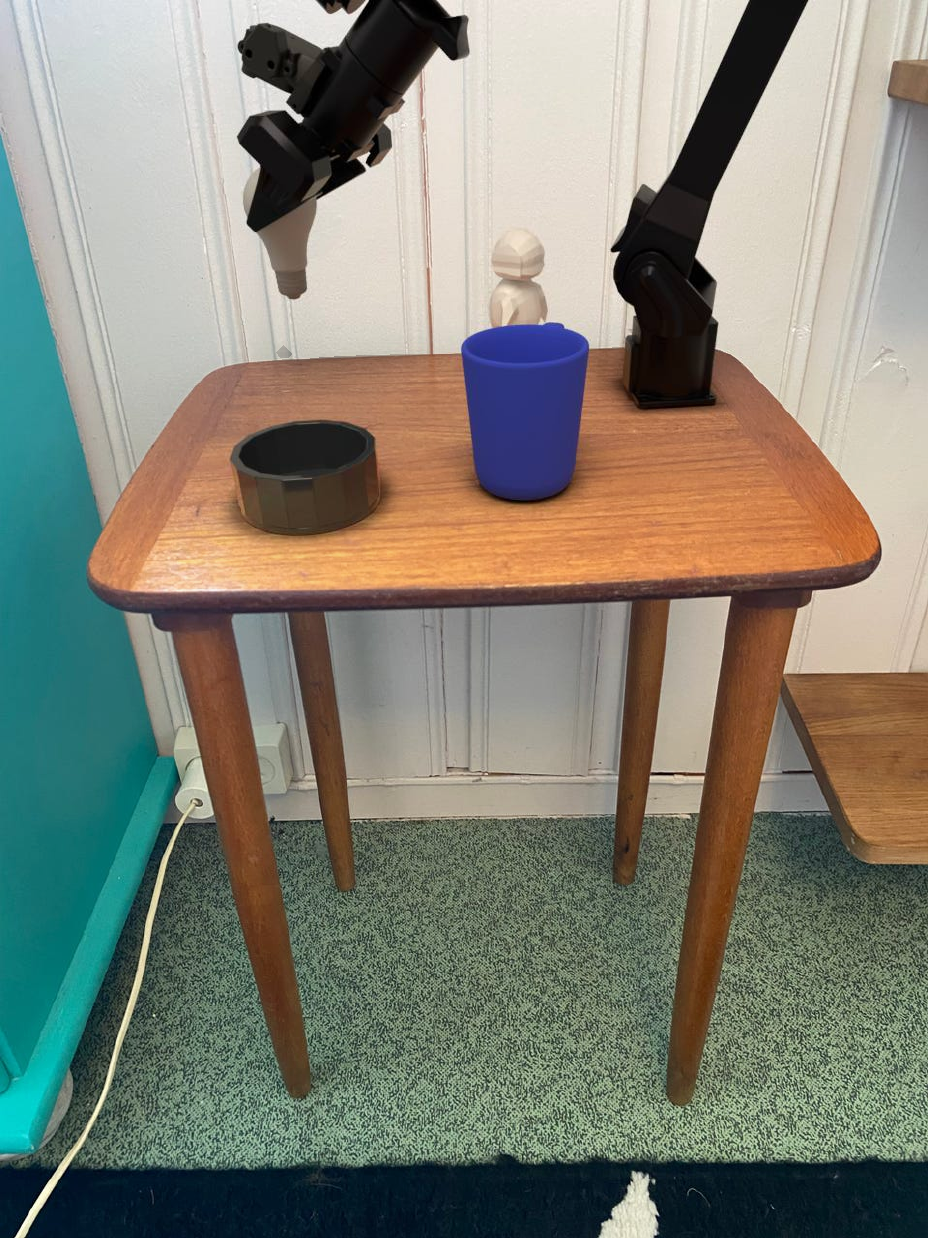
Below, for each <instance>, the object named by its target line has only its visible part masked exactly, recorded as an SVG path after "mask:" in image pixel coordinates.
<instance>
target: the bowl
mask: <svg viewBox="0 0 928 1238" xmlns="http://www.w3.org/2000/svg"><path fill="white" fill-rule="evenodd" d="M229 463H230V467H231V468H230V469H231V473H232V478H233V483H234V488H235V493H236V498H237V503H238V506H239V508H240V512H241V515H242V517H243V518H244V520H245V521H246V522H247V523H248V524H250V525H251V526H253V527H255V528H257V529H259V530H262V531H264V532H267V533H273V534H279V535H285V536H286V535H289V536H290V535H291V536H307V535H315V534H321V533H322V534H323V533H328V532H332V531H337V530H339V529H343V528H345V527H346V528H347V527H348V526H351V525H353V524H355V523H358V522H360V521H361V520H364V519H365V518H366V517H368V516H369V515H371V513H372V512H373V511H375V510H376V509H377V507H378V505H379V504H380V501H381V480H380V470H379V468H380V467H379V459H378V449H377V440H376V437H375V436H374V435H373V434H372V433H371V432H370V431H369V430H368V429H367V428H365V427H362V426H359V425H357V424H354V423H351V422H348V421H342V420H341V421H340V420H332V419H309V420H295V421H289V422H285V423H279V424H276V425H270V426H267V427H265V428H263V429H260V430H258V431H256V432H252V433H250V434H248V435H246V436H245V437H244V438H243V439H241V440H240V441H238V443H236V444H235V445H234V446H233V448H232V450H231V453H230V456H229Z"/></svg>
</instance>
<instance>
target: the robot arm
mask: <svg viewBox="0 0 928 1238" xmlns="http://www.w3.org/2000/svg"><path fill="white" fill-rule="evenodd" d="M366 1H367V0H315V2H317V4H318V5H319V6H320V7H321V8H322V9H323V10H324V11H325V12H326V13H327V14H328V15H333V14H335V13H337V12H338V11H341V9H342V10H343V11H344V12H345V13H346V14H347V15H351V14H352V15H353V13H355V12H356V11H357V10H359V9H360V8H361V6H362V5H363V4H364V3H365V2H366ZM808 3H809V0H748V2H747V3H746V6H745V8H744V10H743V13H742V15H741V17H740V20H739V22H738V24H737V26H736V28H735V30H734V32H733V35H732V37H731V39H730V42H729V43H728V46H727V48H726V50H725V53H724V55H723V57H722V59H721V62H720V64H719V66H718V68H717V70H716V72H715V75H714V77H713V78H712V81H711V83H710V85H709V88H708V90H707V92H706V94H705V97H704V98H703V101H702V103H701V105H700V108H699V110H698V112H697V115H696V117H695V119H694V121H693V123H692V126H691V128H690V130H689V132H688V134H687V137H686V139H685V141H684V142H683V145H682V148H681V149H680V151H679V153H678V155H677V156H678V157H677V159H676V161H675V163H674V165H673V167H672V168H671V170H670V172H669V173H668V175H667V176H666V178H665V179H664V180H663V182H662V183H661V185H660V186H659V188H658V190H657V191H655V190H653V188H651V187H649V186H648V185H647V184H645V183H641V185H640V186H639V188H638V190H637V192H636V193H635V195H634V197H633V198H632V201H631V205H630V208H629V212H628V216H627V220H626V224H625V225H624V226H623V227H622V229H621V230H620V232H619V233H618V235H617V237H616V239H615V240H614V242H613V244H612V246H611V247H610V250H609V251H610V252H611V253H612V254H614V253H618V254H617V257H616V258H615V260H614V265H613V268H612V279H613V282H614V285H615V288H616V291H617V293H618V294H619V295H620V297H621V298H622V299H623V301H624V302H625V303H627V304H629V305H630V306H632V307H633V309H634V313H635V315H633V317H632V328H631V329H632V330H631V334H627V335H626V336H625V338H624V351H623V367H622V384H623V385H624V388H625V389H626V391H627V392H628V394H629V395H631V397H632V399H633V401H634V403H635V404H636V406H637V407H638V408H643V409H644V408H662V407H678V406H694V405H710V404H712V405H713V404H716V403H717V395H716V394H715V392H714V391H713V389H711V388H712V380H713V373H714V365H715V355H716V346H717V341H718V340H717V339H718V332H719V331H718V329H719V321H718V320H717V319H715V317H714V316H713V311H714V307H715V306H714V305H715V299H716V294H717V293H716V292H717V287H718V282H717V279H715V277H714V276H713V275H712V274H711V273H710V271H708V269H706V267H705V266H704V265H703V264H702V263H701V262H700V261H699V259H698V258H697V257H696V256H697V252H698V249H699V246H700V242H701V240H702V237H703V233H704V229H705V226H706V222H707V219H708V216H709V212H710V210H711V207H712V202H713V199H714V196H715V193H716V191H717V190H718V188H719V185H720V183H721V181H722V179H723V177H724V175H725V173H726V171H727V169H728V167H729V164H730V162H731V160H732V159H733V156H734V154H735V152H736V150H737V149H738V146H739V144H740V142H741V140H742V138H743V136H744V134H745V132H746V129H747V128H748V126H749V123H750V122H751V119H752V117H753V116H754V114H755V111H756V110H757V107H758V105H759V103H760V101H761V99H762V97H763V95H764V93H765V91H766V89H767V86H768V85H769V82H770V81H771V79H772V77H773V74H774V72H775V70H776V68H777V66H778V65H779V62H780V60H781V58H782V56H783V55H784V52H785V50H786V47H787V45H788V43H789V41H790V39H791V37H792V36H793V33H794V31H795V30H796V27H797V26H798V23H799V22H800V19H801V17H802V15H803V13H804V10H805V9H806V7H807V4H808ZM469 21H470V19H469V16H468V15H466V14H461V15H455V16H452V15H451V14H450V13H449V12H448V11H447V10H446V9H445V8H444V6H442V5H441V3H440V2H439V1H438V0H368V1H367V3H366V4H365V5H364V7H363V9H362V10H361V12H360V13H359V15H358V16H357V18H356V19H355V21H354V22H353V23H352V24H351V27H350V29H349V30H348V32H347V33H346V35H345V36H344V37H343V38H342V40H341V42H340V43H339V45H336V46H327V47H324V48H321V46H318V45H316V44H314V43H312V42H310V41H308V40H306V39H305V38H302V37H301V36H299V35H297V34H294V33H293V32H291V31H289V30H286V29H285V28H282V27H281V26H278V25H275V24H271V23H269V22H262V23H257V24H253V25H249V28H246V29H245V34H244V37H243V38H242V39H241V40H239V41H238V42H237V50H238V53H239V54H240V55H241V62H242V64H241V69H240V70H241V72H242V73H243V74H244V75H245V76H247V77H249V78H250V79H256V78H257V79H259V80H261V81H262V82H264V83H267V84H269V85H270V86H272V87H274V88H276V89H278V90H280V91H282V92H285V93H287V94H290V95H289V96H288V98H287V100H286V101H285V103H286V104H287V106H288V107H290V109H291V110H292V111H293V113H295V114H296V115H300V116H301V117H302V118H303V119H302V120H301V122H298V121H297V120H295V119H294V117H292V115H291V114H290V113H289V112H288V111H287V110H286V109H280V110H279V109H278V110H273V109H272V110H266V111H263V112H259V113H256V114H255V113H254V114H252V115H249V116H248V117H247V119H246V121H245V122H244V124H243V125H242V127H241V129H240V130H239V132H238V133H237V135H236V139H237V142H238V144H239V146H241V147H242V148H243V149H244V151H246V153H248V154H249V156H251V158H253V160H255V161H256V163H258V165H259V168H260V172H259V177H258V181H257V185H256V189H255V192H254V196H253V199H252V203H251V207H250V210H249V214H248V217H247V216H246V221H245V223H246V225H247V227H249V229H250V230H252V232H253V233H256V232H258V231H260V230H262V229H263V228H265V227H267V226H269V225H270V224H272V223H274V222H275V221H277V220H279V219H280V218H282V217H284V216H285V215H287V214H289V213H290V212H292V211H294V210H295V209H297V208H299V207H300V206H302V205H304V204H305V203H307V202H309V201H310V200H312V199H314V198H315V197H316V200H317V201H318V200H320V199H321V198H323V197H325V196H327V195H329V194H330V193H332V192H333V191H335V190H337V189H339V188H341V187H342V186H344V185H346V184H348V183H349V182H351V181H353V180H355V179H356V178H358V177H361V176H362V175H364V174H365V173H366V172H367V168H366V167H365V165H364V164H363V162H361V161H360V159H358V158H359V157H362V156H364V155H366V154H368V153H369V154H368V156H367V157H366V159H365V162H364V163H365V164H366V165H367V166H368V167H369V168H370V169H371V168H373V167H375V166H378V165H379V164H381V163H382V162H383V160H384V159H385V158H386V156H387V155H388V153H389V152H390V151H391V150H392V149H393V140H392V139H393V138H392V130H391V129H390V128H389V127H388V125H387V124H385V122H386V120H387V119H388V118H389V116H390V115H393V114H396V113H398V112H399V111H400V110H401V109H402V107H403V106H404V104H405V103H406V101H405V99H404V98H403V97H404V96H405V94H406V93H407V92H408V90H409V89H410V87H411V86H412V85H413V83H414V82H415V81H416V79H417V78H418V76H419V75H420V74H421V72H422V71H423V69H424V68H425V67H426V65H428V63H429V62H430V60H431V59H432V57H433V56H434V55H435V53H436V52H437V51H438V49H440V50H441V51H442V52H443V54H445V56H446V57H447V58H448V59H449V60H450V61H452V62H456V61H458V60H459V61H460V60H463V59H466V58H468V57H469V55H470V51H471V50H470V45H469V44H470V43H469V35H468V26H469Z"/></svg>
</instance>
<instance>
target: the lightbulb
mask: <svg viewBox="0 0 928 1238" xmlns="http://www.w3.org/2000/svg"><path fill="white" fill-rule="evenodd" d="M259 172H260V167H257V169H255V170H254V171H253V172H252V173H251V174H250V176H249V178H248V179H247V180H246V183H245V185H244V187H243V193H242V205H243V210H244V213H245V215H246V218H247V217H248V214H249V210H250V207H251V203H252V199H253V196H254V192H255V189H256V185H257V181H258V177H259ZM317 207H318V200H316V197H315V198H314V199H312V200H310V201H309V202H307V203H305V204H304V205H302V206H300V207H299V208H297V209H295V210H294V211H292V212H290V213H289V214H287V215H285V216H284V217H282V218H280V219H279V220H277V221H275V222H274V223H272V224H270V225H269V226H267V227H265V228H263V229H262V230H260V231H258V232H255V233H256V234H257V235H258V237H259V238H260V239H261V242H262V244H263V246H264V247H265V249H266V252H267V255H268V258H269V262H270V267H271V269H272V270H273V271H274V275H275V279H276V284H277V289H278V292H279V293H280V295H282V296H286V297H287V299H288V300H294V301H295V300H299V299H300V298H301V296H302V295H303V294H305V293H306V292H307V290H308V280H307V271H306V270H307V269H306V268H307V266H308V255H307V254H308V243H309V237H310V234H311V231H312V228H313V225H314V222H315V218H316V215H317V209H318V208H317Z"/></svg>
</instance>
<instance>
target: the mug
mask: <svg viewBox="0 0 928 1238" xmlns="http://www.w3.org/2000/svg"><path fill="white" fill-rule="evenodd" d="M460 348H461V349H460V352H461V361H462V369H463V378H464V386H465V396H466V405H467V413H468V421H469V429H470V439H471V447H472V456H473V464H474V465H473V466H474V471H475V474H476V477H477V479H478V482H479V483H480V485H481V486H482V487H483V489H485V491H487V492H489V493H490V494H492V495H494V496H497V497H500V498H502V499H507V500H512V501H513V500H514V501H535V500H540V499H546V498H549V497H552V496H554V495H556V494H559V493H560V492H561V491H563V490H564V489H565V488H566V487H567V486H568V485H569V484H570V482H571V481H572V478H573V476H574V473H575V469H576V462H577V454H578V445H579V437H580V428H581V420H582V413H583V412H582V411H583V405H584V397H585V388H586V387H585V386H586V379H587V370H588V363H589V361H588V360H589V353H590V343H589V341H588V339H587V338H586V336H584V335H582V334H581V333H579V332H577V331H574V330H572V329H569V328H565V325H564V324H563V323H561V322H551V321H548V322H544V323H543V324H538V325H531V324H526V325H509V326H501V327H495V328H493V327H492V328H491V327H490V328H486V329H484V330H481V331H478V332H476V333H473V334H471V335H470V336H468V337H467V338H466V339H464V340H463V342H462V344H461V347H460Z"/></svg>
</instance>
